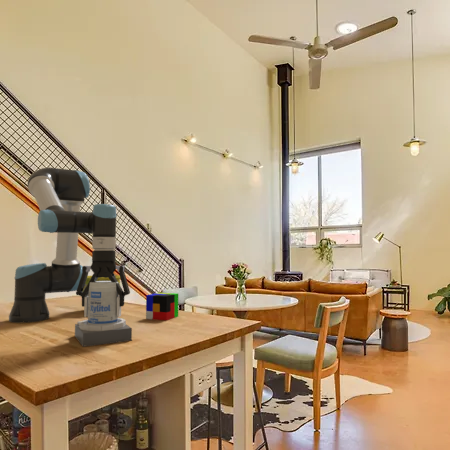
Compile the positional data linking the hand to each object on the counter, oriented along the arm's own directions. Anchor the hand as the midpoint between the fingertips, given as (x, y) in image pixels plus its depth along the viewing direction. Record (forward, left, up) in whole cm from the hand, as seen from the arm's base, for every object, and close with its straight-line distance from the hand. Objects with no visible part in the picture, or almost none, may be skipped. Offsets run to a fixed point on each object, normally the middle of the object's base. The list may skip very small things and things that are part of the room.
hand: (102, 316), depth 125 cm
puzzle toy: (-25, +30, -8) cm, 40 cm away
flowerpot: (-57, +11, -7) cm, 59 cm away
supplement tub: (0, 0, -3) cm, 3 cm away
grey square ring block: (0, 0, -7) cm, 7 cm away
